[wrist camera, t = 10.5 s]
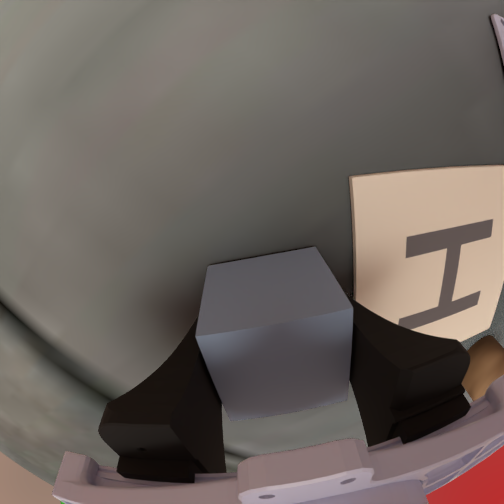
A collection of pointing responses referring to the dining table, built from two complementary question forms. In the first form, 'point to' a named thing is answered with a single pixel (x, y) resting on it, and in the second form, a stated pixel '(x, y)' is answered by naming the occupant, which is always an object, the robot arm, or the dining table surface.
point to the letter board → (430, 247)
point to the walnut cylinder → (483, 366)
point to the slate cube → (275, 334)
